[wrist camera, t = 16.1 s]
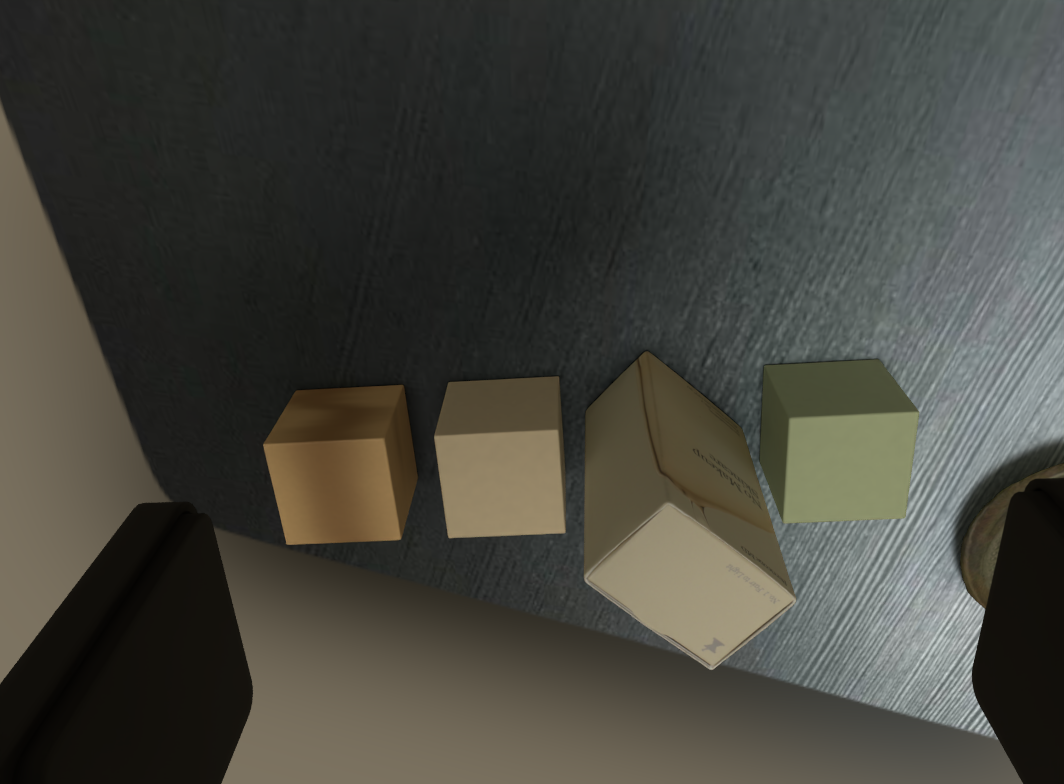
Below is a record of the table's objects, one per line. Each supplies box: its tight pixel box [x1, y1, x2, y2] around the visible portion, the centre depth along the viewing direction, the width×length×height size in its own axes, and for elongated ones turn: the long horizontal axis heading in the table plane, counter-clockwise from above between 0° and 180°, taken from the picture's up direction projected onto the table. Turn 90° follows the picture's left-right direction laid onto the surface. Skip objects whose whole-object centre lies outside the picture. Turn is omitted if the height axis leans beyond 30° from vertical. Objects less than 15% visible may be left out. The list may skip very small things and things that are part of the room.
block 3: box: [760, 359, 919, 523], centre depth 38 cm, size 5×5×5 cm
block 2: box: [434, 376, 566, 538], centre depth 39 cm, size 5×5×5 cm
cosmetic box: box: [584, 351, 796, 670], centre depth 35 cm, size 6×4×12 cm
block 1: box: [263, 385, 418, 545], centre depth 39 cm, size 5×5×5 cm
